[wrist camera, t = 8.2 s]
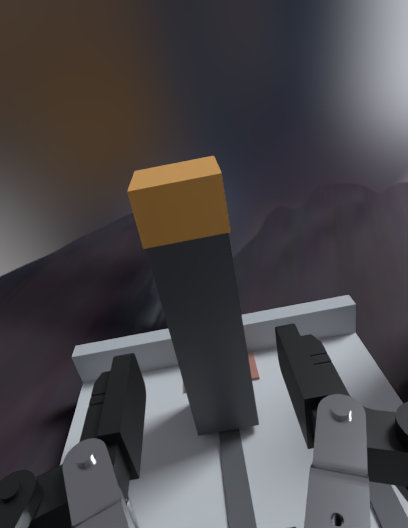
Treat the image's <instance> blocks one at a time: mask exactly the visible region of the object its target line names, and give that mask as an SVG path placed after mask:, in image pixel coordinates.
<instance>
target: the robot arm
mask: <svg viewBox="0 0 408 528" xmlns="http://www.w3.org/2000/svg"><path fill="white" fill-rule="evenodd" d="M275 336H276V345H277V353H278V361H279V366H280V370H281V373H282V376H283V379H284V382H285V385H286V388H287V391H288V393H289V396H290V399H291V402H292V405H293V408H294V411H295V414H296V416H297V419H298V422H299V425H300V428H301V431H302V434H303V437H304V440H305V442H306V445H307V448H308V449H312V448H314V451H313V462H312V465H311V466H310V471H309V480H308V491H307V501H306V511H305V521H304V528H371V519H370V492H369V481H370V482H376V483H383V484H389V485H395V486H396V487H397V489H398V490H399V491H400V493H401V494H402V495H403V497H404V498H405V499H406V501H407V502H408V402H405V403H403V404H401V405H400V406H399V407H398V408H397V411H396V412H390V411H380V410H373V409H369V408H367V407H364V406H362V405H361V404H360V403H359V402H358V401H357V400H356V399H354V398H352V397H351V396H350V395H349V393H348V391H347V389H346V387H345V385H344V384H343V382H342V380H341V378H340V376H339V374H338V372H337V370H336V368H335V367H334V365H333V363H332V362H331V359H330V357H329V355H328V354H327V351H326V350H325V348H324V346H323V344H322V342H321V341H319V340H318V339H317V338H316V337H314V336H313V335H312V334H309V335H304V336H300V334H299V332H298V329H297V327H296V325H295V324H294V323H293V324H287V325H282V326H277V327H275ZM145 408H146V387H145V382H144V379H143V376H142V373H141V371H140V368H139V365H138V362H137V359H136V356H135V354H134V353H129V354H124V355H119V356H114V357H113V361H112V365H111V370H110V371H107V372H102V373H101V375H100V376H99V377H98V379H97V380H96V382H95V383H94V386H93V390H92V394H91V398H90V402H89V407H88V410H87V414H86V417H85V421H84V425H83V429H82V433H81V437H80V441H79V443H78V444H76V445H75V446H74V447H73V448H72V449H71V450H70V451H69V452H68V453H67V455H66V457H65V459H64V461H63V464H61V465H60V466H58V467H56V468H54V469H52V470H50V471H48V472H46V473H44V474H42V475H39V476H37V477H35V476H34V474H33V473H32V472H30V471H28V470H20V471H16V472H13V473H11V474H9V475H8V476H6V477H5V478H3V479H2V480H1V481H0V528H140V527H139V524H138V521H137V518H136V515H135V512H134V509H133V506H132V503H131V500H130V497H129V495H128V490H129V481H130V480H135V479H139V478H140V467H141V455H142V443H143V431H144V419H145ZM290 528H296V527H290Z"/></svg>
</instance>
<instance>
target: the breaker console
mask: <svg viewBox="0 0 408 528" xmlns="http://www.w3.org/2000/svg"><path fill="white" fill-rule="evenodd" d="M242 321H243V327H244V333H245V340H246V346H247V352H248V358H249V364H250V371H251V377H252V383H253V389H254V396H255V402H256V408H257V414H258V420H259V425H256V426H250V427H245V428H239V429H234V430H228V431H222V432H217V433H211V434H206V435H200V436H198V433H197V430H196V426H195V423H194V419H193V415H192V412H191V408H190V405H189V401H188V397H187V394H186V390H185V387H184V383H183V379H182V376H181V372H180V369H179V365H178V361H177V358H176V354H175V350H174V347H173V343H172V340H171V336H170V332H169V329H164V330H158V331H153V332H148V333H142V334H137V335H132V336H126V337H121V338H116V339H110V340H105V341H100V342H94V343H89V344H84V345H78V346H75V349H74V352H73V355H72V359H73V361H74V364H75V366H76V368H77V370H78V373H79V375H80V377H81V379H82V381H83V386H82V389H81V393H80V396H79V400H78V403H77V407H76V410H75V413H74V417H73V420H72V424H71V427H70V431H69V434H68V438H67V441H66V445H65V448H64V452H63V455H62V459H61V462H60V465H61V464H63V461H64V459H65V457H66V455H67V453H68V452H69V451H70V450H71V449H72V448H73V447H74V446H75V445H76V444H78V443H79V441H80V437H81V433H82V429H83V425H84V421H85V417H86V414H87V410H88V407H89V402H90V398H91V394H92V390H93V386H94V383H95V382H96V380H97V379H98V377H99V376H100V375H101V373H102V372H107V371H110V370H111V365H112V361H113V357H114V356H119V355H124V354H129V353H134V354H135V356H136V359H137V362H138V365H139V368H140V371H141V373H142V376H143V379H144V382H145V387H146V408H145V419H144V431H143V443H142V455H141V467H140V478H139V479H135V480H130V481H129V490H128V495H129V497H130V500H131V503H132V506H133V509H134V512H135V515H136V518H137V521H138V524H139V527H140V528H290V527H296V528H304V521H305V511H306V501H307V491H308V480H309V471H310V466H311V465H312V462H313V451H314V448H312V449H308V448H307V445H306V442H305V440H304V437H303V434H302V431H301V428H300V425H299V422H298V419H297V416H296V414H295V411H294V408H293V405H292V402H291V399H290V396H289V393H288V391H287V388H286V385H285V382H284V379H283V376H282V373H281V370H280V366H279V361H278V353H277V345H276V336H275V327H277V326H282V325H287V324H293V323H294V324H295V325H296V327H297V329H298V332H299V334H300V336H304V335H309V334H312V335H313V336H314V337H316V338H317V339H318V340H319V341H321V342H322V344H323V346H324V348H325V350H326V351H327V354H328V355H329V357H330V359H331V362H332V363H333V365H334V367H335V368H336V370H337V372H338V374H339V376H340V378H341V380H342V382H343V384H344V385H345V387H346V389H347V391H348V393H349V395H350V396H351V397H352V398H354V399H356V400H357V401H358V402H359V403H360V404H361V405H362V406H364V407H367V408H369V409H373V410H380V411H390V412H396V411H397V408H398V407H399V406H400V405H401V404H403V402H402V401H401V399H400V398H399V397H398V395H397V394H396V392H395V391H394V389H393V388H392V386H391V385H390V383H389V382H388V380H387V379H386V377H385V376H384V374H383V373H382V371H381V370H380V368H379V367H378V365H377V364H376V362H375V361H374V359H373V358H372V357H371V355H370V354H369V352H368V351H367V349H366V348H365V346H364V345H363V343H362V342H361V340H360V339H359V337H358V336H357V334H356V333H355V330H356V304H355V302H354V301H353V300H352V299H351V297H350V296H349V295H346V296H340V297H335V298H330V299H324V300H319V301H314V302H308V303H303V304H297V305H292V306H287V307H281V308H276V309H271V310H265V311H260V312H255V313H249V314H244V315H242ZM369 492H370V519H371V528H408V502H407V501H406V499H405V498H404V497H403V495H402V494H401V493H400V491H399V490H398V489H397V487H396V486H395V485H389V484H383V483H376V482H370V481H369Z"/></svg>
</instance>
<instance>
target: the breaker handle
mask: <svg viewBox="0 0 408 528" xmlns="http://www.w3.org/2000/svg"><path fill="white" fill-rule="evenodd" d="M127 193H128V196H129V200H130V203H131V207H132V210H133V214H134V217H135V221H136V224H137V228H138V232H139V235H140V239H141V242H142V246H143V249H146V250H147V253H148V257H149V260H150V264H151V268H152V271H153V275H154V278H155V282H156V286H157V289H158V293H159V296H160V300H161V304H162V307H163V311H164V314H165V318H166V322H167V325H168V329H169V332H170V336H171V340H172V343H173V347H174V350H175V354H176V358H177V361H178V365H179V369H180V372H181V376H182V379H183V383H184V387H185V390H186V394H187V397H188V401H189V405H190V408H191V412H192V415H193V419H194V423H195V426H196V430H197V433H198V436H200V435H206V434H211V433H217V432H222V431H228V430H234V429H239V428H245V427H250V426H256V425H259V420H258V414H257V408H256V402H255V396H254V389H253V383H252V377H251V371H250V364H249V358H248V352H247V346H246V340H245V333H244V327H243V321H242V315H241V308H240V302H239V296H238V290H237V284H236V277H235V271H234V265H233V259H232V253H231V246H230V240H229V234H228V233H229V232H231V230H230V224H229V217H228V212H227V205H226V198H225V192H224V186H223V180H222V173H221V171H220V168H219V166H218V164H217V162H216V159H215V157H214V156H210V157H204V158H200V159H194V160H190V161H184V162H179V163H174V164H169V165H164V166H158V167H154V168H148V169H143V170H138V171H135V172H134V175H133V178H132V180H131V183H130V186H129V188H128V191H127Z"/></svg>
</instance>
